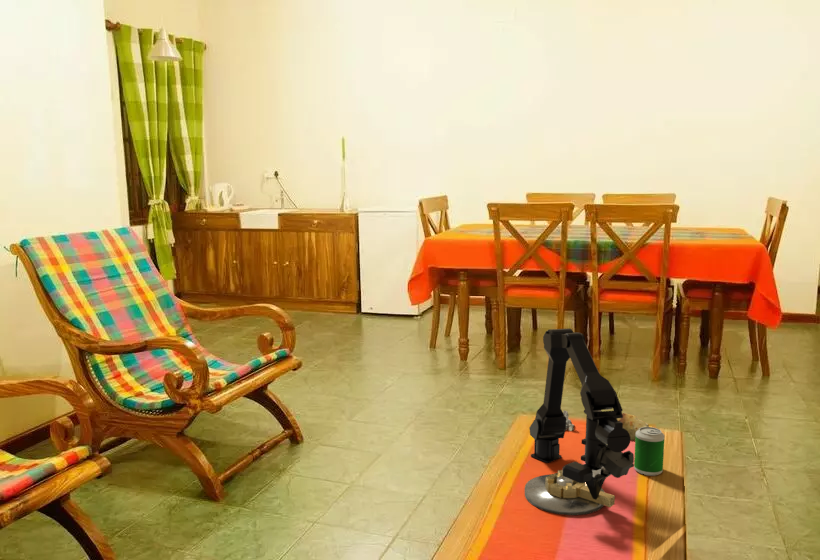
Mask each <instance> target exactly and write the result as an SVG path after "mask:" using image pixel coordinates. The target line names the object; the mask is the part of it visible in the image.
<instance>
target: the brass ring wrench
mask: <svg viewBox="0 0 820 560" xmlns="http://www.w3.org/2000/svg"><path fill="white" fill-rule="evenodd" d="M562 471H563V469H558V470H557V472H555V473H551V475H549V474H548V475H549V476H548V477H546V478H545V488H546V490H547V492H548V493H550V494H551V495H554V496H557V497H560V498H561V497H563V498H576V497H581V498H584V499H587V500H590V501H593V502H596V503H599V504H602V505H604V506H605V507H608V508H611V507H613V506H614V505H615V502H616V501H615V499H616V496H615V495H614V494H611V493H607V492H605V491H604V492H602V491H600V493H599V495H598V498H597V499H596V500H595V499H593V498H592V496H591V493H590V491H589V489H588V487H587V486H585V483H579V482H576V481H574V480H573V486H572V484H571V483H566V486H561V485H558V484H557V478H558V477H561V476H563V475H562Z"/></svg>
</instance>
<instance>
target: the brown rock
mask: <svg viewBox="0 0 820 560" xmlns="http://www.w3.org/2000/svg"><path fill="white" fill-rule="evenodd" d="M622 415H623V418H617V420H618V421H621V422H622V423H623V428H624V429H626V430H627V431H628V433H629V435H630V438H631V440H630V441H635V436H636V431H638V430H639V429H640V428H642V427H650V425H649V423H647V422H646V421H644V420H641V419H639V418H638V417H637V416H636V415H634V414H629V413H625V412H622Z"/></svg>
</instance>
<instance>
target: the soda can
mask: <svg viewBox="0 0 820 560" xmlns="http://www.w3.org/2000/svg"><path fill="white" fill-rule="evenodd" d="M634 442H635V443H634V462H633V464H634V467H633V468H634V470H635V471H636V472H638V473H639V474H641V475H643V474H644V475H643V476H647V477H649V476H650V477H654V476H658V475H661V474H662V473H663V470H664V454H665V453H664V451H665V434H664V433H663V432H662V430H661V429H658V428H657V427H653V426H649V427H642V428H640V429H639V430H638V431H636V436H635V440H634Z"/></svg>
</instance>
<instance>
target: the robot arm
mask: <svg viewBox="0 0 820 560" xmlns="http://www.w3.org/2000/svg"><path fill="white" fill-rule="evenodd" d="M542 337H543V338H542V343H543V349H544V351H545V352H546V355H547V356H548V362H547V370H546V378H545V387H544V394H543V395H544V396H543V404H542V405H541V406H540V407H539V408H538V409H537V410H536V414H535V418H534V420H533V422H531V424H530V426H529V428H528V429H529V435H530V436H531V437H532V438H533V439H534V449H533V450H534V451H533V453H531V454H530V457H531V458H534V459H536V460H539V461H542V462H544V463H547V464H549V463H551V462H554V461H557V460H559V459H561V458H562V457H563V456H562V455H561V454H560V451H561V449H560V443H559V442H560V439H564V438H565V433H566V431H567V430H566V420H567V419H566V417H565V416H564V414H563V410H562V401H563V392H564V386H565V385H564V384H565V376H566V368H567V362H568V361H569V359H570V361H571V362H572V365H573V367H574V368H573V369H575V372H576V374H577V377H578V379H579V381H580V384H581V388H580V392H579V394H580V398H581V403H582V407H583V408H584V410H583V413H584V414H585V415H586V421H585V436H584V437H585V438H583V439H581V442H580V443H581V444H582V445H584V454H582V455H580V461H583V462H584V463H583V464H582V463H580V462H579V461H578V462H577V461H572V462H569V463H567V464H565V465H563V466H562V470H563V471H562V475H563V476H564V477H567V478H569V479H572V480H574V481H576V482H579V483H585V482H586V484H587V487H588V489H589V491H590V493H591V496H592V498H593V499H595V500H596V499H597V498H598V495H599V493H600V490H601V488H602V489H603V486H604V483H605V481H606V479H607V478H609V477H610V476H612V477H614V478H616V479H619V478H621V477H623V476H626V475H628V473H629V470H630V469H631V468H634V458H635V453H633V452H631V451H630V450H627V451H625V450H626V449H627V448H628V447H629V446H630V443H631V441H632V440H631V438H630V435H629V433H628V431H627V430H626V429H624V428H623V423H622V422H621V421H618V420H617V418H623V415H622V414H623V407H622V405H621V402H620V400H619V397H618V394H617V392H616V390H615V389H614V387H613V385H612V383H611V382H610V381H609V380H608V379H607V378H606V377H604V376H602V374H600V371H599V370H598V367H597V366H596V362H595V361H594V359H593V356H592V355H591V352H590V351H589V348H588V346H587V344H586V337H585V335H584V334H583V333H581V332H576V331H573V329H572V328H554V329H547V330H546V331H545V332H544V334H543V336H542Z"/></svg>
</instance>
